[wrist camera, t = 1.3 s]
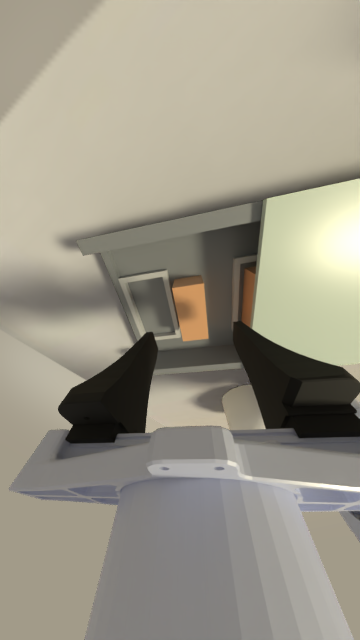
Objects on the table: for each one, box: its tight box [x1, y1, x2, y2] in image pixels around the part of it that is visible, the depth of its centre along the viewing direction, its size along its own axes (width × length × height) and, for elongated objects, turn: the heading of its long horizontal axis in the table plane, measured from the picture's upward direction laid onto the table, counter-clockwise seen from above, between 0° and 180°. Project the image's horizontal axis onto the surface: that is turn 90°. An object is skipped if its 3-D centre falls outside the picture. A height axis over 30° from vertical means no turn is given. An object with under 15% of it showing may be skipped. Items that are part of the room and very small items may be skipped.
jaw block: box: [172, 275, 209, 341], centre depth 17 cm, size 7×3×3 cm, turn 10°
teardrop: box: [222, 385, 266, 430], centre depth 26 cm, size 11×11×12 cm
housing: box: [76, 200, 263, 375], centre depth 17 cm, size 18×21×5 cm
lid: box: [250, 179, 360, 366], centre depth 13 cm, size 18×18×1 cm
